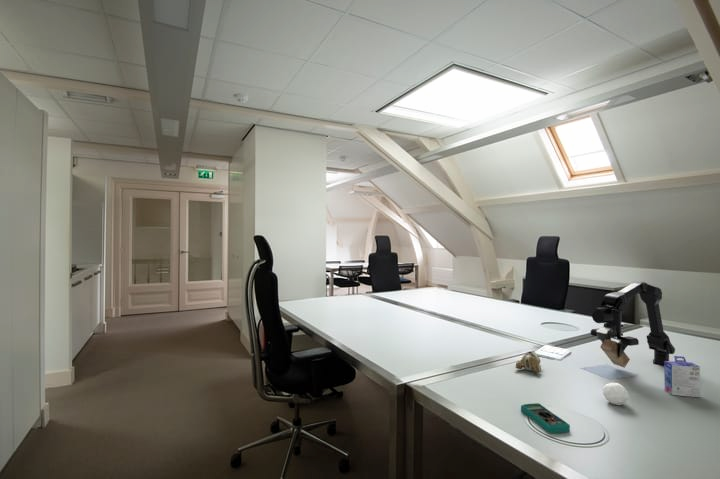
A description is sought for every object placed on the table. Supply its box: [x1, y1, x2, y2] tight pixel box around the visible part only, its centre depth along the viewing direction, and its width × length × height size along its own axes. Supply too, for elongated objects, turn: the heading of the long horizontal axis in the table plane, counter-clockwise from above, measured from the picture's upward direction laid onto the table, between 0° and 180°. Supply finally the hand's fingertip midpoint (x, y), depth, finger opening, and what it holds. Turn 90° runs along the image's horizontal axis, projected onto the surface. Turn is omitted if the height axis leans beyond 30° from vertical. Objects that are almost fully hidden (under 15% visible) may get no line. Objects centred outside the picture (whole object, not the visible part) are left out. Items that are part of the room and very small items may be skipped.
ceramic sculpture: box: [515, 349, 542, 373], centre depth 165 cm, size 11×9×15 cm
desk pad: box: [580, 363, 638, 381], centre depth 162 cm, size 18×14×1 cm
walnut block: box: [599, 339, 631, 369], centre depth 163 cm, size 5×5×13 cm
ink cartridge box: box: [663, 355, 701, 398], centre depth 140 cm, size 10×6×14 cm, turn 78°
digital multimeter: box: [520, 402, 571, 434], centre depth 118 cm, size 8×15×3 cm, turn 10°
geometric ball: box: [602, 382, 630, 406], centre depth 131 cm, size 8×8×8 cm
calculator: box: [534, 344, 572, 361], centre depth 188 cm, size 13×20×2 cm, turn 134°
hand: (613, 355), depth 163 cm, fingers closed on walnut block, 5 cm apart
